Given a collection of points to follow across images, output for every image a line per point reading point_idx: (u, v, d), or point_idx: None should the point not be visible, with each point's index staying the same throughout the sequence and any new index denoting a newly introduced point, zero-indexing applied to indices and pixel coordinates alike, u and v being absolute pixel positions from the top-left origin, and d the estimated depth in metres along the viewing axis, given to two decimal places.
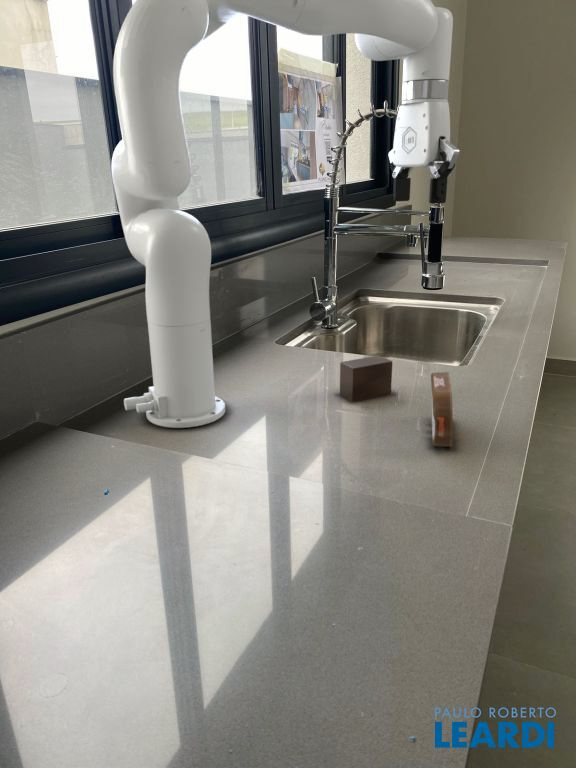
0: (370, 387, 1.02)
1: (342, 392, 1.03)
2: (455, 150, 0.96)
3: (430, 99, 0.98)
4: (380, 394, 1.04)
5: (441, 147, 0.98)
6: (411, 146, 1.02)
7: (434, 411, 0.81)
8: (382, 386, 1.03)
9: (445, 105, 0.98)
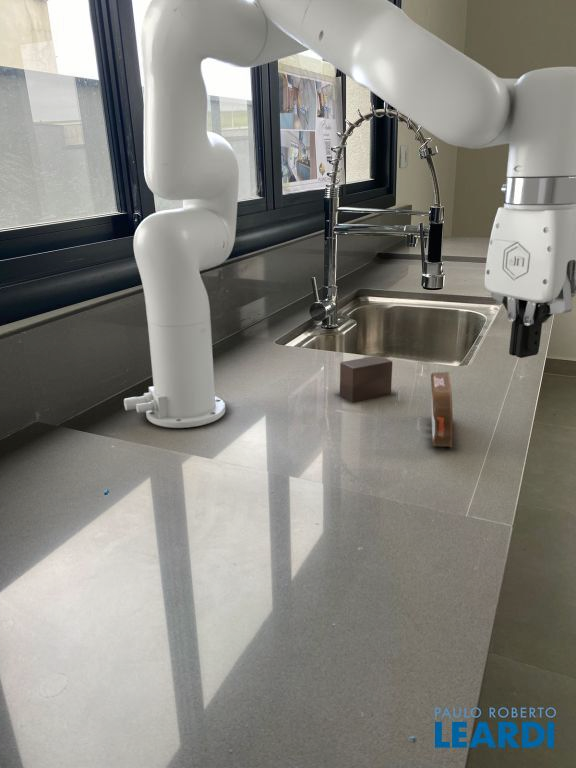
0: (370, 387, 1.02)
1: (342, 392, 1.03)
2: (566, 310, 0.66)
3: (555, 206, 0.63)
4: (380, 394, 1.04)
5: None
6: (520, 271, 0.67)
7: (434, 411, 0.81)
8: (382, 386, 1.03)
9: None
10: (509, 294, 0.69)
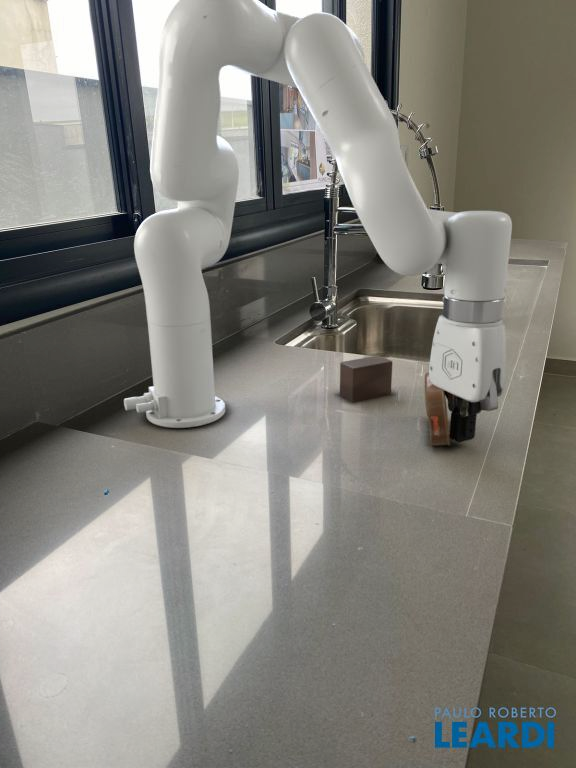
0: (370, 387, 1.02)
1: (342, 392, 1.03)
2: (492, 409, 0.78)
3: (482, 324, 0.75)
4: (380, 394, 1.04)
5: None
6: (455, 373, 0.79)
7: (427, 411, 0.81)
8: (382, 386, 1.03)
9: (500, 331, 0.76)
10: (447, 390, 0.81)
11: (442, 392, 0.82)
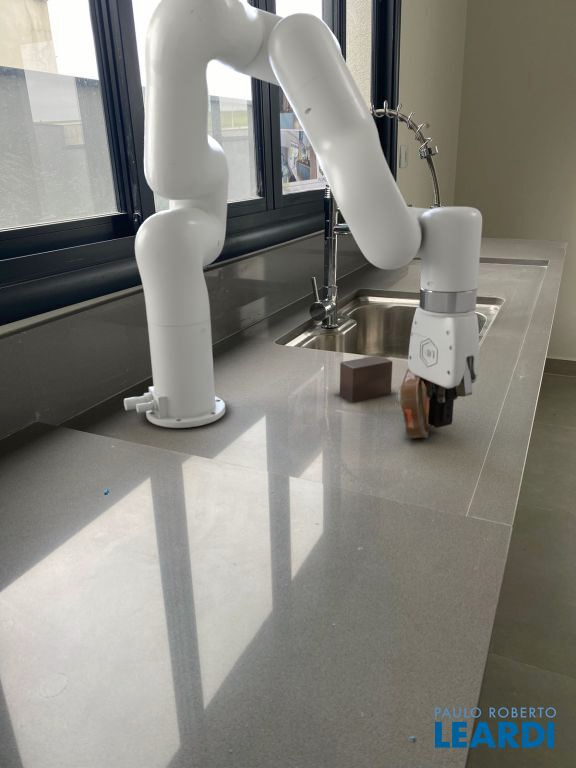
0: (370, 387, 1.02)
1: (342, 392, 1.03)
2: (467, 394, 0.82)
3: (455, 314, 0.79)
4: (380, 394, 1.04)
5: None
6: (432, 361, 0.84)
7: (401, 404, 0.84)
8: (382, 386, 1.03)
9: (473, 320, 0.80)
10: (425, 378, 0.85)
11: (416, 386, 0.84)
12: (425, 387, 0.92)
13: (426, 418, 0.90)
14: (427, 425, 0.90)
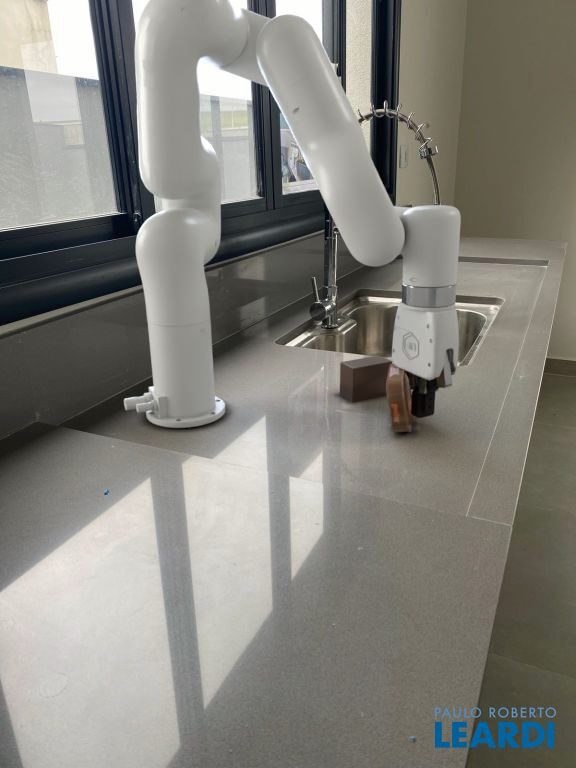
0: (370, 387, 1.02)
1: (342, 392, 1.03)
2: (447, 386, 0.85)
3: (435, 308, 0.83)
4: (380, 394, 1.04)
5: None
6: (413, 354, 0.87)
7: (388, 399, 0.85)
8: (382, 386, 1.03)
9: (452, 314, 0.83)
10: (407, 370, 0.89)
11: (402, 381, 0.86)
12: (406, 382, 0.95)
13: (408, 413, 0.92)
14: (409, 419, 0.92)
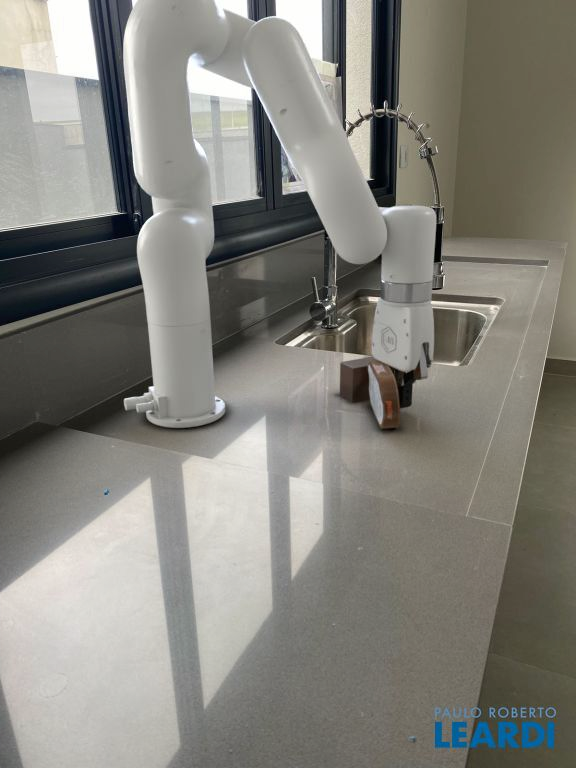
0: None
1: (342, 392, 1.03)
2: (422, 378, 0.90)
3: (411, 304, 0.87)
4: None
5: None
6: (391, 347, 0.91)
7: (382, 395, 0.87)
8: None
9: (428, 310, 0.87)
10: (386, 363, 0.93)
11: (394, 378, 0.88)
12: None
13: None
14: None
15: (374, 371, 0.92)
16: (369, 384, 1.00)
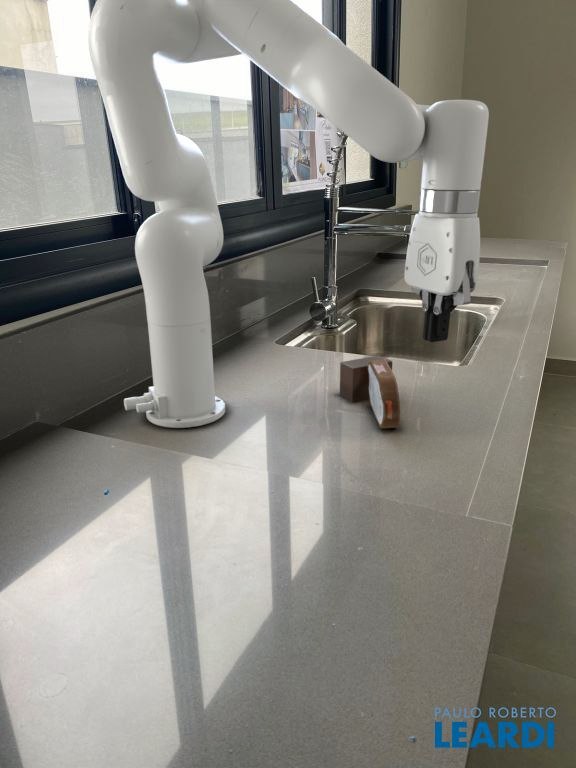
0: None
1: (342, 392, 1.03)
2: (465, 302, 0.79)
3: (456, 214, 0.76)
4: None
5: None
6: (430, 268, 0.80)
7: (382, 395, 0.87)
8: None
9: (475, 223, 0.76)
10: (422, 287, 0.82)
11: (394, 378, 0.88)
12: None
13: None
14: None
15: (374, 371, 0.92)
16: (369, 384, 1.00)
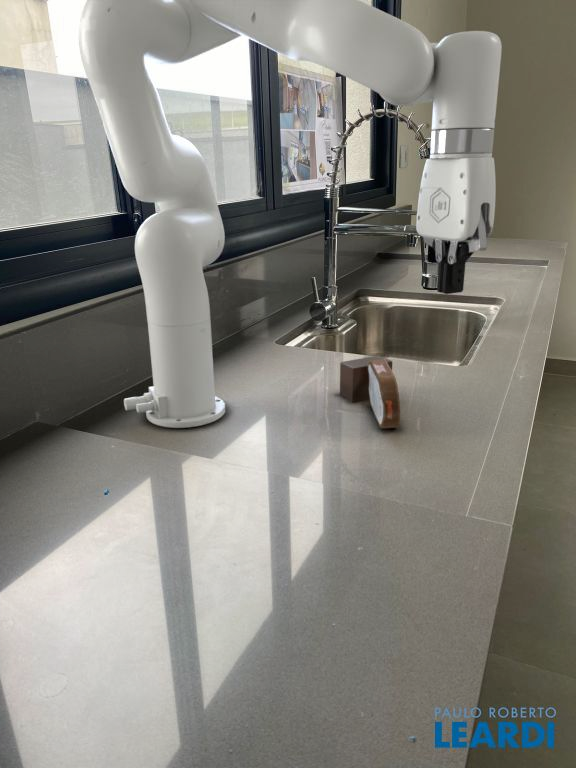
0: None
1: (342, 392, 1.03)
2: (481, 248, 0.75)
3: (470, 154, 0.72)
4: None
5: None
6: (443, 214, 0.76)
7: (382, 395, 0.87)
8: None
9: (489, 162, 0.73)
10: (435, 236, 0.78)
11: (394, 378, 0.88)
12: None
13: None
14: None
15: (374, 371, 0.92)
16: (369, 384, 1.00)
